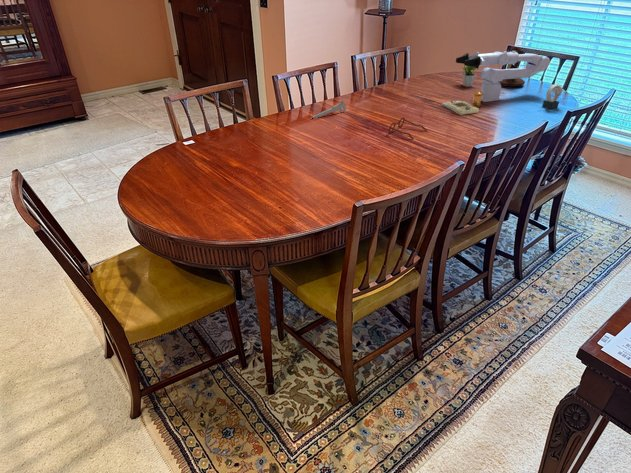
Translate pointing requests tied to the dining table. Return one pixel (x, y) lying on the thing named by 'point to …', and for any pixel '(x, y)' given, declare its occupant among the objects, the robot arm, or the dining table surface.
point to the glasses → (401, 126)
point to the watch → (552, 102)
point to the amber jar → (477, 98)
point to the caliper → (334, 108)
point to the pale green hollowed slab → (461, 107)
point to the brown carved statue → (510, 66)
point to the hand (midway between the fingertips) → (460, 61)
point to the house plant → (468, 76)
